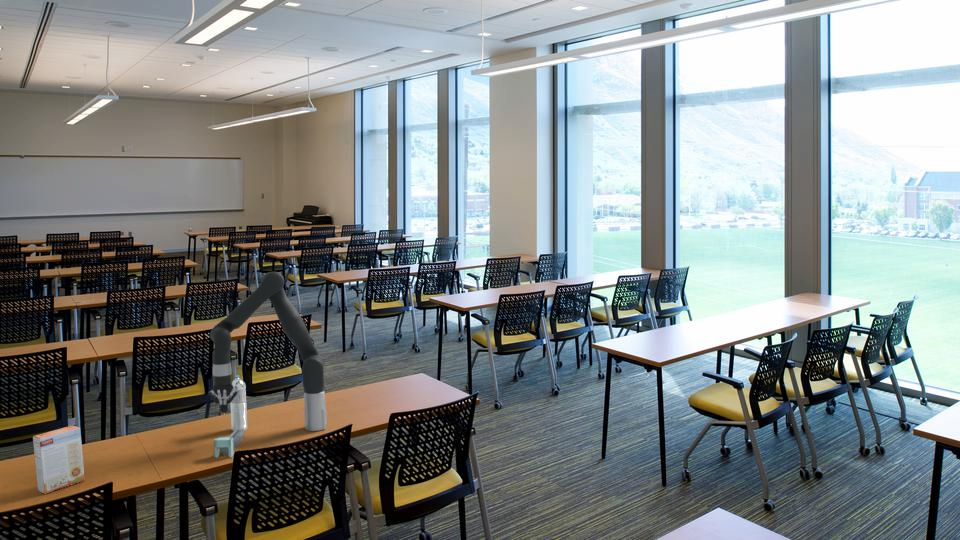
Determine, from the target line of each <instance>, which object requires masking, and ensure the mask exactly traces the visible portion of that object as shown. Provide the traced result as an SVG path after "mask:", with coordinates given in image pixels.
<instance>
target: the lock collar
mask: <svg viewBox="0 0 960 540" xmlns="http://www.w3.org/2000/svg"><path fill="white" fill-rule="evenodd" d="M213 446H214V458H215V457H216V458H215V459H217V457H220V455H221V454H220V452H221V449H220V448H221V447H228V448H229V455H228V458H232V457H233V456H234V455H233V454H234V451H233V437H229V436H228V437H227V436H226V437H225V436H224V437H215V438H214V440H213Z"/></svg>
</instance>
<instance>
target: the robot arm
mask: <svg viewBox="0 0 960 540" xmlns="http://www.w3.org/2000/svg"><path fill="white" fill-rule="evenodd" d="M284 286H285V278H284V275H282V273H280V272H277V271H269V272H266V273H264V274H263V275H262V277H261V279H260V285H259V286H258V287H257V288H255V291H253V292H252V293H251V294H250V295H248V297H247V298H245V299H244V300H243V301H242V302H241V303H239V304H238V305H237V306H236V307H235V308H234V309H233V310H232V311H231V312H230V313H229V314H228V315H227V317H225V318H224V319H223V320H220V322H218V323H217V324H216V325H214V326H213V327H212V328H211V330H210V332H209V338H210V340H211V341H212V342H213V343H214V344H213V345H214V349H213V352H212V383H213V384H212V385H213V386H212V389H211V390H210V391H208V392H207V396H208V397H209V398H210V399H211V400H212V401H213V402H214V403H215V404H217V405H219V407H220V410H219V411H220V412H221V414H226V413H227V412H228V410H229V404H230V403H231V401H232V400H233V399H234V398H235V396H236V395H237V394H238V392H239V391H238V390H235V389H233V388H234V387H233V385H232V382H233V377H232V376H233V374H232V365H231V364H232V363H231V352H230V351H231V345H232V335H231V333H232V332H233V331H235V330H238V329H240V328H241V327H242V326H243V325H244V324H245V323H246V322H247V321H248V320H249V319H250V317H252V315H253V314H255V312H256V311H257V310H258V309H259V308H260V307H261V306H262V305H263V304H264V303H265V302H266V301H267V300H269V301H270V303H271V304H272V307H273V309H274V312H275V314H276V316H277V319H278V321H279V323H280V325H281V327H282V329H283V331H284V333H285V335H286V336H287V338H288V339H289V341H291V343H292V344H293V346H294V347H295V348H296V349H297V352H298V354H299V355H300V357H301V360H302V363H303V364H302V368H301V370H302V371H301V373H302V386H303V387H302V388H303V405H304V406H303V408H304V410H303V411H304V429H305V430H306V431H309V432H317V431H318V432H319V431H322V430H323V431H324V429H325V430H326V428H327V426H326V425H327V422H328V421H327V420H328V419H327V404H326V392H325V390H326V387H325V375H324V369H325V361H324V359H323V357H322V356H321V354H320V353H319V351H318V350H317V347H316V346H315V344H314V343H313V340H312V338H311V336H310V333H309V330H308V328H307V326H306V324H305V321H304V320H303V318H302V316H301V314H300V313H299V311H298V310H297V308H296V307H295V306H294V305H293V303H292V302H291V300H290V299H289V298H288V296H287V293H286V291H285V289H284ZM231 392H232V396H231V398H229V397H230V393H231ZM325 427H326V428H325Z"/></svg>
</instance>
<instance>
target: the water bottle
mask: <svg viewBox="0 0 960 540" xmlns="http://www.w3.org/2000/svg"><path fill="white" fill-rule="evenodd" d="M232 385H233V387H234V388H233V389H235V390H238V391H239V392H238V394H237V395H236V396H235V398H234V399H233V400H232V401H231V403H229V404H230V421H231V422H230V423H231V424H230V425H231V431H232V432H234V431H235V429H244V432H245V431H247V430H248V411H247V410H248V409H247V408H248V407H247V405H248V404H247V393H246V391H247V389H246V388H247V386H246V383H245V381H244V380H242V379H241V378H240V375H238V374H237V375H235V376H234V379H233V380H232ZM231 396H232V392H231V393H230V394H229V397H230V398H231ZM230 398H229V399H230Z"/></svg>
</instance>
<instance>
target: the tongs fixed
mask: <svg viewBox="0 0 960 540" xmlns="http://www.w3.org/2000/svg"><path fill="white" fill-rule="evenodd" d="M244 438H245V431H244V429H240V430H239V431H238V432H237V434H236V435H235V436H234V437H233V451H234V450H235V449H236V448H237V447H238V446H239V445H240V443H241V442H242V441H241V440H244ZM240 441H241V442H240ZM220 452H221V454H225V455H224V456H229V448H228V447H220ZM221 454H220V455H221Z"/></svg>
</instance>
